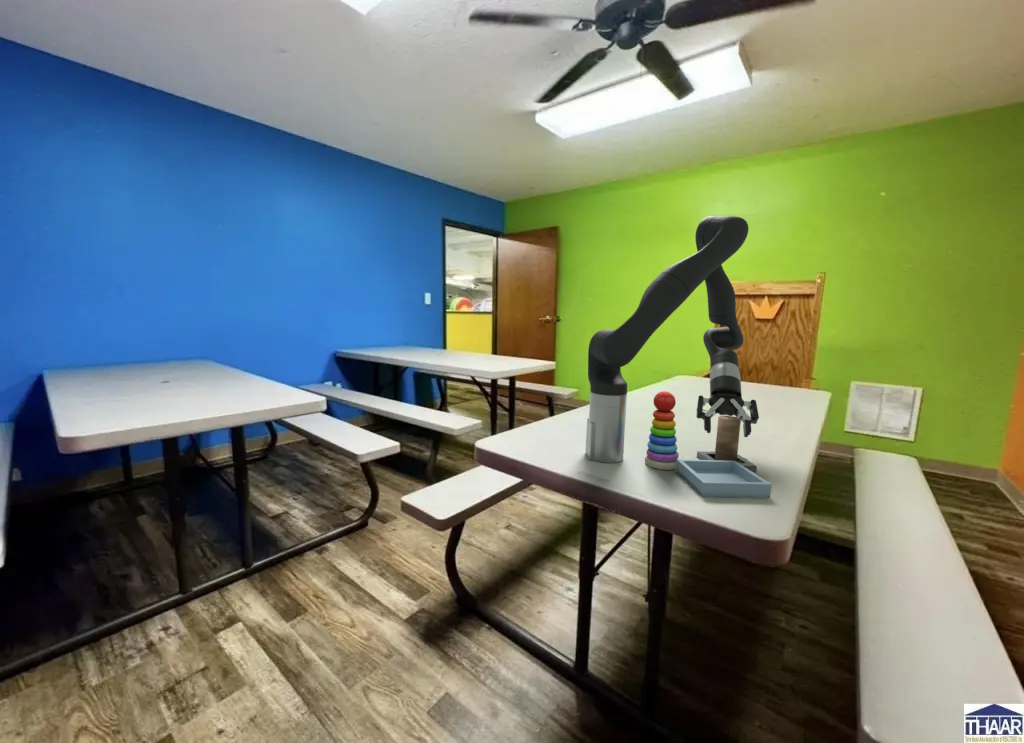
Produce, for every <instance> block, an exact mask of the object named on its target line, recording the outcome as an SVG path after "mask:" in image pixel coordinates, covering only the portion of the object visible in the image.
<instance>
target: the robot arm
mask: <svg viewBox="0 0 1024 743" xmlns="http://www.w3.org/2000/svg"><path fill="white" fill-rule="evenodd" d="M748 234H749V224H748V222H747V221H746V219H744V218H742V217H741V216H735V215H734V216H733V215H709V216H706V217H704V218H703V219H702V220H701V221H700V222H699V223H698V225H697V227H696V231H695V247H696V250H697V252H695V253H694V254H692V255H690V256H688V257H686V258H684V259H681V260H679V261H677V262H675V263H673V264H672V265H671V264H670V265H669V266H668V267H667V268H665V269H664V270H662V272H660V274H659V275H658V276H656V277H655V279H653V280H652V282H651V283H650V284H649V285H648V286H647V287H646V289H645V290H644V292H643V294H642V295H641V299H640V302H639V304H638V306H637V308H636V310H635V311H634V313H633V314H632V315H631V316H629V318H628V319H626V321H624V322H623V324H621V325H620V326H618V327H617V328H615V329H601V330H598V331H596V333H594V334H593V335H592V336H591V339H590V341H589V345H588V349H587V350H588V351H587V353H588V354H587V378H588V382H589V387H590V388H589V390H590V391H589V392H590V393H589V409H588V410H589V412H588V417H587V418H586V436H585V437H586V438H585V454H586V457H587V458H588V460H589V461H595V462H601V463H619V462H621V461H623V460H624V452H625V450H624V447H625V436H626V435H625V432H626V419H627V418H626V416H627V415H626V413H627V403H628V402H627V400H628V399H627V398H628V383H627V380H625V379H624V377H623V375H622V371H621V368H622V367H625V366H627V365H628V364H630V362H632V361H633V359H634V358H635V357H636V356H637V354H638V353H639V352H640V351H641V350H642V348H643V347H644V346H645V344H646V343H647V342H648V341H649V339H650V338H651V336H652V335H653V334H654V333H655V332H656V331H657V330H658V329H659V328H660V327H661V326H662V325H663V324H664V323H665V322H666V321H667V319H668V318H669V317H670V316H671V315H672V314H673V313H675V311H676V310H678V309H679V308H680V306H681V305H682V304H683V303H684V302H685V301H686V300H687V299H688V298H689V297H690V296H691V294H692V293H694V291H695V290H697V288H698V287H699V286H700V285H701V284H703V282H704V283H705V287H706V296H707V309H708V312H707V313H708V319H709V321H710V322H711V323H712V324H716V325H721V326H720V327H711V328H708V329H707V330H705V332H704V333H703V338H702V340H703V344H704V346H705V349H706V350H707V353H708V356H709V360H710V361H709V363H710V374H709V398H708V397H704V396H703V395H702V394H701V395H698V399H697V406H696V418H697V419H699V420H700V419H702V420H703V429H704V431H705V432H706V433H707V434H710V433H711V431H712V421H711V420H712V418H713V417H715V416H716V415H717V414H718V416H732V417H737V418H740V419H741V422H742V428H743V438H748V436H750V435H751V433H752V424H753V425H756V424H757V423H758V421H759V418H760V416H759V411H758V410H759V409H758V404H757V400H755V399H751V400H749V401H747V400H744V399H743V397H742V396H743V395H742V384H741V374H740V371H739V359H738V358H739V357H738V354H737V353H736V351H737V350H739V349H741V347H742V346H743V344H744V340H745V339H744V335H743V331H742V329H741V328H740V327H741V326H740V325H739V324H740V323H739V321H738V319H737V308H736V307H737V306H736V302H737V301H736V292H735V289H734V287H733V284H732V282H731V280H730V278H729V277H728V276H727V274H726V272H725V270H724V267H723V264H724V263H725V262H726V261H728V259H730V258H731V257H732V256H734V255H735V253H737V252H738V251H739V249H741V247H742V246H743V245H744V243H745V241H746V240H747V238H748ZM707 404H708V405H709V406H710V408H709V409H708V410H707V411H706V412H704V411H703V407H705V406H706V405H707ZM744 407H745V408H746V409H747V411H749V414H748V412H746V410H745V409H744Z"/></svg>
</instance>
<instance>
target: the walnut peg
mask: <svg viewBox="0 0 1024 743" xmlns="http://www.w3.org/2000/svg"><path fill="white" fill-rule="evenodd" d="M717 418H718V419H717V425H716V426H717V428H716V430H717V431H716V439H715V447H714V448H715V449H714V452H715V459H714V460H726V461H736V462H737V454H738V455H739V452H738V451H739V442H740V430H741V422H742V421H741V419H740V418H737V417H735V416H728V415H718V417H717Z"/></svg>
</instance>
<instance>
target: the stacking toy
mask: <svg viewBox="0 0 1024 743" xmlns="http://www.w3.org/2000/svg"><path fill="white" fill-rule="evenodd" d="M676 402H677V401H676V398H675V395H674V394H672V393H671V392H669V391H660V392H657V394H655V395H654V397H653V405H654V407H655V410H654V411H653V413H652V416H653V419H652V420H651V424H652V425H651V427H650V431H649V432H650V434H649V435H648V439H649V440H648V441H647V449H646V455H645V457H644V462H645V464H646V465H647V466H648V467H651V468H654V469H656V470H661V471H665V470H667V471H671V470H676V460H677V459H679V457H680V456H679V452H678V451H677V450H678V445H677V444H676V443H677V441H678V440H677V436H676V434H677V430H676V428H675V427H676V425H677V423H676V421H675V420H674V419H675V417H676V414H675V412H674V411H672V410H673V409H674V408H675V406H676Z"/></svg>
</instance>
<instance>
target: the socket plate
mask: <svg viewBox="0 0 1024 743" xmlns="http://www.w3.org/2000/svg"><path fill="white" fill-rule="evenodd" d="M696 458H697V459H698V460H714V459H715V451H697V452H696ZM737 462H738V463H739V464H741V465H742V466H744V467H746V468H747V469H749V470H750V471H752V472H753V473H755V472H757V470H758V466H757V465H756V464H755V463H753V462H751V461H750V460H748V459H746V458H744V457H743V456H742V455H740V454H739V453H738V454H737Z"/></svg>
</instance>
